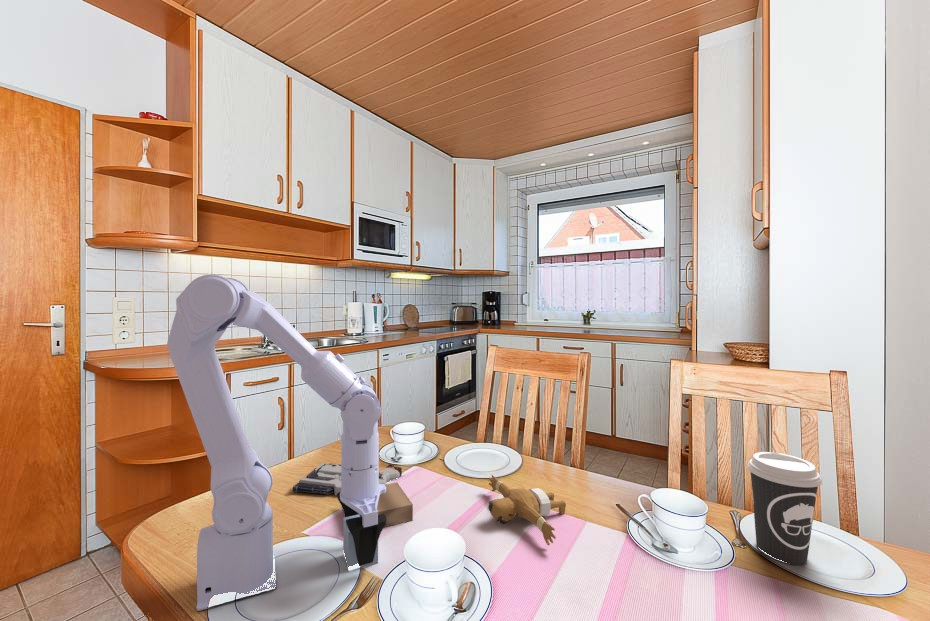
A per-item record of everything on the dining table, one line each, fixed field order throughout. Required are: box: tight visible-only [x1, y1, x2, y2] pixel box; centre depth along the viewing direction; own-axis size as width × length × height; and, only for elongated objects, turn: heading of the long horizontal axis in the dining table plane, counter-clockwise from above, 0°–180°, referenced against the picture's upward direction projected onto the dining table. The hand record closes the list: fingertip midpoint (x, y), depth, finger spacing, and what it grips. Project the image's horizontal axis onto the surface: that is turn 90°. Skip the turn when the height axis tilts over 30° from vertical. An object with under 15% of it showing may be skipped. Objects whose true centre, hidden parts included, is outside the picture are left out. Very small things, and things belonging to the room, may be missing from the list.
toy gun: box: [292, 462, 403, 497], centre depth 90 cm, size 3×20×15 cm
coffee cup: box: [746, 451, 823, 566], centre depth 66 cm, size 10×10×15 cm
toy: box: [487, 474, 567, 546], centre depth 75 cm, size 16×16×5 cm
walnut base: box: [377, 482, 414, 528], centre depth 77 cm, size 10×10×3 cm
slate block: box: [342, 514, 379, 569], centre depth 64 cm, size 4×4×6 cm
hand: (360, 548), depth 64 cm, fingers open, 7 cm apart
